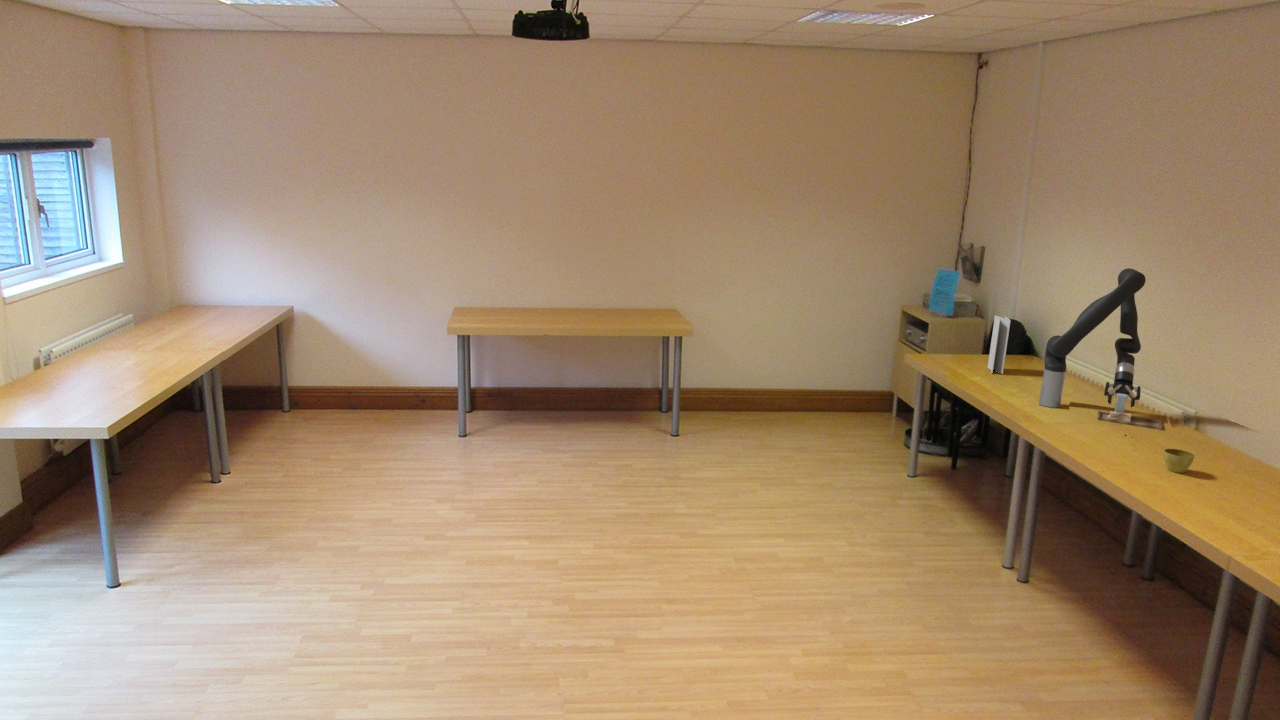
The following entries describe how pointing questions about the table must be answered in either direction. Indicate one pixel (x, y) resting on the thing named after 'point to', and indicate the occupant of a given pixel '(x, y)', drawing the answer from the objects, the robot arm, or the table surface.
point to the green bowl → (1178, 460)
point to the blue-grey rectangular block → (1120, 403)
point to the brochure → (999, 344)
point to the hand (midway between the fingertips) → (1120, 404)
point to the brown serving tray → (1133, 421)
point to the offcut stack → (1119, 416)
